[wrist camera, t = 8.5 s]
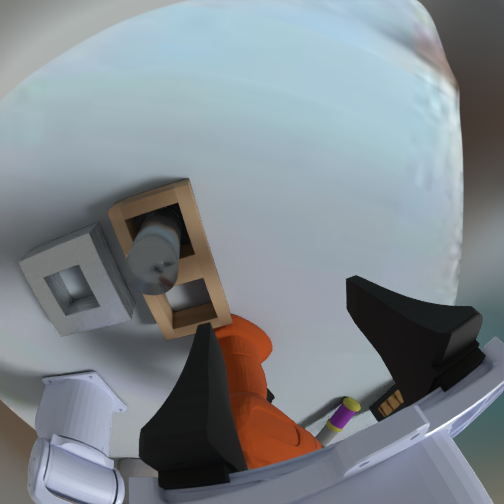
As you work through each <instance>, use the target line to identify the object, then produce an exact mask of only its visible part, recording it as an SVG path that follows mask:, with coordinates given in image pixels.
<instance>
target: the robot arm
mask: <svg viewBox="0 0 504 504" xmlns="http://www.w3.org/2000/svg"><path fill="white" fill-rule="evenodd" d="M346 297H347V310H348V312H349V314H350V316H351V317H352V319H353V321H354V322H355V324H356V325H357V326H358V328H359V329H360V330H361V332H362V333H363V334H364V335H365V337H366V338H367V339H368V340H369V342H370V343H371V344H372V345H373V347H374V348H375V349H376V351H377V352H378V353H379V355H380V356H381V358H382V360H383V361H384V363H385V365H386V366H387V368H388V370H389V372H390V374H391V376H392V377H393V379H394V381H395V383H396V385H397V387H398V389H399V392H400V394H401V396H402V398H403V401H404V403H405V405H406V408H404V409H402V410H400V411H398V412H397V413H395V414H393V415H391V416H389V417H387V418H386V419H384V420H382V421H380V422H378V423H376V424H374V425H372V426H370V427H368V428H366V429H363V430H361V431H359V432H357V433H355V434H353V435H351V436H349V437H347V438H345V439H344V440H341V441H339V442H336V443H334V444H331V445H329V446H326V447H324V448H321V449H318V450H316V451H313V452H310V453H307V454H304V455H301V456H298V457H295V458H292V459H288V460H285V461H282V462H278V463H275V464H271V465H267V466H263V467H259V468H255V469H251V470H249V469H248V466H247V463H246V460H245V457H244V454H243V450H242V447H241V444H240V440H239V437H238V433H237V430H236V426H235V422H234V418H233V414H232V410H231V404H230V397H229V389H228V380H227V372H226V365H225V361H224V357H223V353H222V349H221V347H220V344H219V342H218V339H217V337H216V335H215V332H214V330H213V327H212V325H211V323H210V322H207V323H204V324H200V325H198V326H197V329H196V334H195V337H194V341H193V344H192V347H191V350H190V353H189V356H188V359H187V361H186V364H185V366H184V369H183V371H182V373H181V375H180V377H179V379H178V381H177V383H176V385H175V387H174V388H173V390H172V392H171V393H170V395H169V396H168V398H167V399H166V401H165V402H164V404H163V405H162V406H161V408H160V409H159V410H158V412H157V413H156V414H155V415H154V416H153V417H152V418H151V419H150V421H149V422H148V423H147V424H146V425H145V426H144V427H143V428H142V429H141V432H140V438H139V457H140V459H141V460H142V461H143V462H144V463H145V464H147V465H148V466H150V467H151V468H153V469H155V470H156V471H158V478H157V477H129V504H493V502H492V500H491V498H490V497H489V495H488V494H487V492H486V490H485V489H484V487H483V485H482V484H481V482H480V481H479V479H478V477H477V476H476V474H475V473H474V471H473V470H472V468H471V467H470V465H469V464H468V462H467V461H466V459H465V457H464V456H463V454H462V453H461V451H460V450H459V448H458V447H457V446H456V444H455V443H454V441H453V440H452V438H454V436H456V435H457V434H458V433H460V432H461V431H462V430H463V429H464V428H465V427H466V426H468V425H469V424H470V423H471V422H472V421H473V420H474V419H475V418H476V417H477V416H479V415H480V414H481V413H482V412H483V411H484V410H485V409H486V408H487V407H488V406H489V405H490V404H491V403H492V402H493V401H494V400H495V399H496V398H497V397H498V396H499V395H500V394H501V393H502V392H503V391H504V344H503V343H502V342H501V341H500V340H499V339H498V338H497V337H494V338H493V339H492V340H491V341H489V342H488V343H487V344H486V345H485V346H484V347H483V348H482V350H480V349H479V348H478V346H479V343H478V342H477V341H476V338H477V335H478V333H479V330H480V328H481V325H482V320H483V319H482V318H483V317H482V315H481V314H480V313H479V312H478V311H477V310H475V309H474V308H473V307H471V306H449V305H440V304H434V303H429V302H424V301H420V300H417V299H413V298H410V297H407V296H404V295H401V294H398V293H396V292H393V291H391V290H388V289H386V288H384V287H381V286H379V285H377V284H375V283H373V282H370V281H368V280H366V279H364V278H362V277H359V276H357V275H355V276H352V277H350V278H347V279H346ZM42 381H43V383H44V384H45V385H46V386H45V389H44V392H43V395H42V398H41V401H40V404H39V407H38V411H37V414H36V418H35V428H36V432H37V435H38V437H39V438H38V439H37V440H36V442H35V444H34V446H33V449H32V452H31V456H30V461H29V467H28V485H27V489H28V491H29V495H30V497H31V498H32V500H33V501H34V502H35V503H36V504H73V503H70V502H67V501H65V500H62V499H60V498H57V497H55V496H53V495H52V494H51V493H53V494H56V495H58V496H60V497H63V498H66V499H68V500H71V501H74V502H76V503H79V504H122V503H123V499H124V494H125V487H124V481H123V478H122V476H121V474H120V472H119V471H118V470H117V469H116V468H114V461H113V460H111V459H109V446H110V435H111V426H112V417H113V413H115V412H125V411H127V407H126V406H125V405H124V404H123V403H122V401H121V400H120V399H119V398H118V397H117V396H116V395H115V394H114V393H113V392H112V390H111V389H110V388H109V387H108V386H107V385H106V384H105V382H104V381H103V380H102V379H101V378H100V376H99V375H98V374H97V373H96V372H93V371H92V372H85V373H78V374H71V375H63V376H55V377H46V378H43V379H42ZM50 492H51V493H50Z"/></svg>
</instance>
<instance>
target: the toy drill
mask: <svg viewBox="0 0 504 504" xmlns="http://www.w3.org/2000/svg"><path fill="white" fill-rule="evenodd" d="M231 318H232V322H233V323H231V324H227V325H224V326H220V327H217V328H213V330H214V332H215V335H216V337H217V339H218V342H219V344H220V347H221V349H222V353H223V357H224V361H225V365H226V372H227V380H228V389H229V397H230V404H231V410H232V414H233V418H234V422H235V426H236V430H237V433H238V437H239V440H240V444H241V447H242V450H243V454H244V457H245V460H246V463H247V466H248V468H249V469H255V468H259V467H263V466H267V465H271V464H275V463H278V462H282V461H285V460H288V459H292V458H295V457H298V456H301V455H304V454H307V453H310V452H313V451H316V450H318V449H321V448H324V446H323V445H321V443H320V442H319V441H318V440H317V439H316V438H315V437H314V436H313V435H312V434H311V433H310V432H308V431H307V430H305V429H304V428H302V427H300V426H299V425H298V424H296V423H295V422H294V421H293V420H291V419H290V418H289V417H288V416H287V415H285V414H284V413H283V412H282V411H280V410H279V409H278V408H276V407H275V406H274V405H272V404H271V402H272V400H273V399H275V397H274V395H273V394H272V393H271V392H270V390H269V389H268V388H267V383H266V378H265V373H264V371H263V369H262V366H261V363H262V362H264V361H265V360H266V359H267V358H268V356H269V355H270V354H271V352H272V343H271V340H270V338H269V337H268V336H267V335H266V333H265V332H264V331H263V330H261V329H260V328H259V327H258V326H256V325H255V324H253V323H251V322H250V321H248V320H246V319H244V318H242V317H239V316H237V315H233V314H231Z"/></svg>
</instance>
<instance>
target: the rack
mask: <svg viewBox="0 0 504 504" xmlns="http://www.w3.org/2000/svg"><path fill="white" fill-rule="evenodd" d="M175 203H179V206H180V209H181V213H182V216H183V219H184V222H185V225H186V228H187V231H188V234H189V237H190V240H191V243H189V244H185V245H182V246H180V252H179V267H178V278H177V281H176V283H175V285H174V286H176V285H179V284H183V283H186V282H190V281H193V280H197V279H200V278H204V281H205V284H206V287H207V289H208V292H209V295H210V298H211V300H212V302H210V303H207V304H203V305H200V306H196V307H193V308H189V309H185V310H182V311H178V312H174V313H173V311H172V308H171V306H170V304H169V302H168V300H167V298H166V295H165V293H163V294H160V295H146V294H143V296H144V298H145V300H146V302H147V304H148V306H149V308H150V310H151V312H152V314H153V316H154V318H155V320H156V322H157V324H158V326H159V327H160V329H161V331H162V333H163V335H164V337H165V338H166V340H171V339H175V338H179V337H183V336H187V335H190V334H194V333H196V329H197V326H198V325H200V324H204V323H207V322H210V323H211V325H212V327H213V328H217V327H220V326H224V325H227V324H231V323H233V322H232V318H231V314H230V310H229V306H228V303H227V300H226V297H225V294H224V291H223V288H222V285H221V282H220V279H219V276H218V272H217V269H216V266H215V263H214V260H213V257H212V254H211V250H210V247H209V244H208V241H207V237H206V234H205V231H204V228H203V224H202V221H201V218H200V214H199V211H198V208H197V204H196V201H195V197H194V194H193V190H192V187H191V183H190V180H189V178H187V179H184V180H181V181H178V182H174V183H171V184H168V185H165V186H162V187H159V188H156V189H153V190H150V191H147V192H144V193H141V194H138V195H135V196H132V197H129V198H126V199H124V200H121V201H118V202H116V203H115V204H114V205H113V206H112V207H111V208H110V209H109V210H108V211H107V213H108V215H109V218H110V221H111V223H112V226H113V228H114V231H115V233H116V236H117V238H118V241H119V243H120V246H121V248H122V250H123V253H124V255H125V257H126V258H127V256H128V253H129V251H130V249H131V247H132V245H133V242H134V240H135V238H136V236H137V234H138V232H139V230H138V228H137V225H136V222H135V220H134V217H135V216H138V215H141V214H144V213H147V212H150V211H153V210H156V209H159V208H162V207H165V206H168V205H172V204H175Z"/></svg>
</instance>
